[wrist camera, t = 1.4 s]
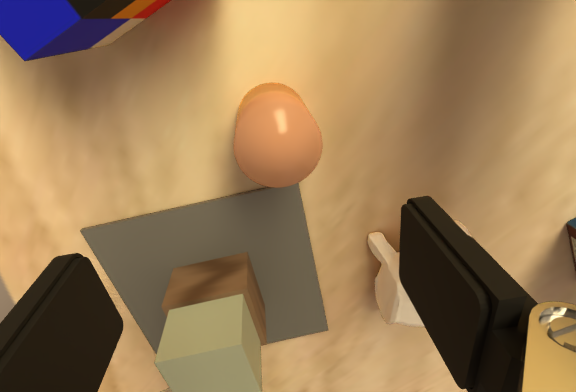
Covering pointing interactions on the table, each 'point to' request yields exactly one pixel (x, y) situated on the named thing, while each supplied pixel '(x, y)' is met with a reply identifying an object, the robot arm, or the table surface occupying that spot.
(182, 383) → the tower top
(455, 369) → the robot arm
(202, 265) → the tower base
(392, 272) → the cream shape with stub
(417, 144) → the table surface
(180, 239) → the rubber mat
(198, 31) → the table surface
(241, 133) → the peach egg shape
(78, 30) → the puzzle toy
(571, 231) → the protein box
